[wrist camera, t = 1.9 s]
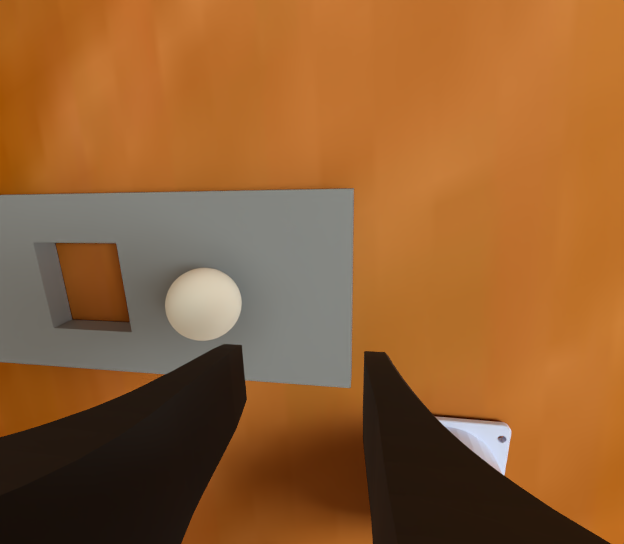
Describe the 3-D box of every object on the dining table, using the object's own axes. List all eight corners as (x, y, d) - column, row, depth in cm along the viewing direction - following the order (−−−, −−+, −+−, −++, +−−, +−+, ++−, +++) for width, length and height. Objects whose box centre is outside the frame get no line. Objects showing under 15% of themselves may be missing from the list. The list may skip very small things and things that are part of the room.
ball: (253, 324, 20) (227, 356, 16) (193, 321, 21) (154, 352, 17) (249, 261, 19) (220, 280, 15) (185, 260, 20) (142, 277, 16)
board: (351, 374, 22) (350, 388, 20) (19, 352, 26) (-2, 361, 24) (353, 188, 19) (352, 188, 17) (-25, 195, 23) (-51, 196, 21)
